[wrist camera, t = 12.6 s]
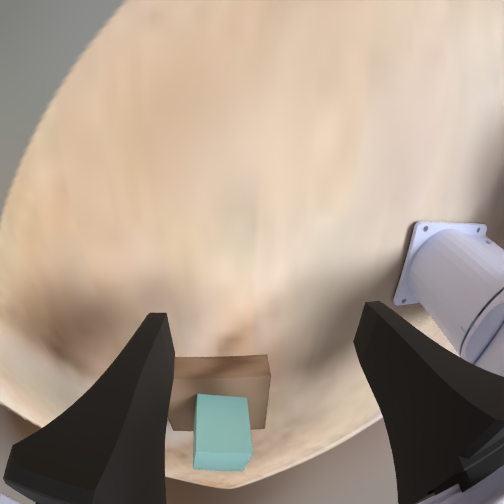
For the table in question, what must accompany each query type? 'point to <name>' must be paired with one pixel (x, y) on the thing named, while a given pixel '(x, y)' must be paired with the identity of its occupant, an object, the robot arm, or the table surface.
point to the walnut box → (219, 386)
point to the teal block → (221, 433)
